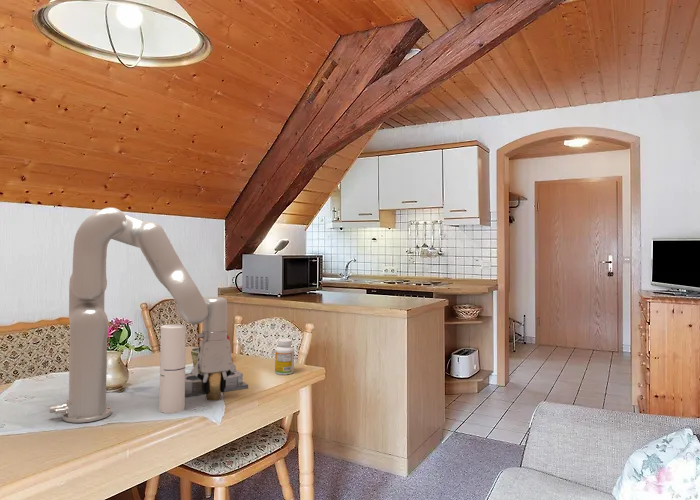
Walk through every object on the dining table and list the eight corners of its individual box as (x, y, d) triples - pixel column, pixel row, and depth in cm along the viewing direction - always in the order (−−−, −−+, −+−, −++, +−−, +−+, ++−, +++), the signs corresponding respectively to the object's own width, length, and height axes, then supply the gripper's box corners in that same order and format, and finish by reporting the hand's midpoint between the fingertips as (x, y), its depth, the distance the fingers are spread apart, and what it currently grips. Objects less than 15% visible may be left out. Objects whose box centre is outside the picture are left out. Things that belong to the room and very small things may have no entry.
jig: (183, 397, 164) (183, 384, 164) (172, 387, 175) (173, 375, 175) (247, 388, 176) (248, 376, 176) (234, 379, 187) (234, 367, 187)
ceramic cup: (185, 378, 187) (185, 351, 187) (199, 371, 196) (199, 345, 196) (217, 381, 184) (217, 353, 183) (230, 374, 193) (230, 348, 193)
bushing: (208, 401, 160) (209, 370, 160) (204, 397, 164) (204, 366, 164) (222, 399, 163) (223, 368, 163) (218, 395, 167) (218, 365, 167)
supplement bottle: (280, 369, 202) (281, 337, 202) (296, 371, 199) (297, 339, 199) (271, 374, 195) (272, 340, 195) (287, 376, 193) (288, 342, 193)
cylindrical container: (176, 414, 148) (178, 328, 148) (154, 412, 150) (155, 327, 149) (188, 406, 155) (190, 324, 155) (167, 404, 157) (169, 323, 156)
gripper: (191, 340, 155) (190, 399, 156) (244, 335, 165) (242, 391, 165) (184, 336, 162) (183, 393, 162) (235, 331, 171) (234, 385, 171)
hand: (213, 391), depth 164 cm, fingers closed on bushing, 4 cm apart
